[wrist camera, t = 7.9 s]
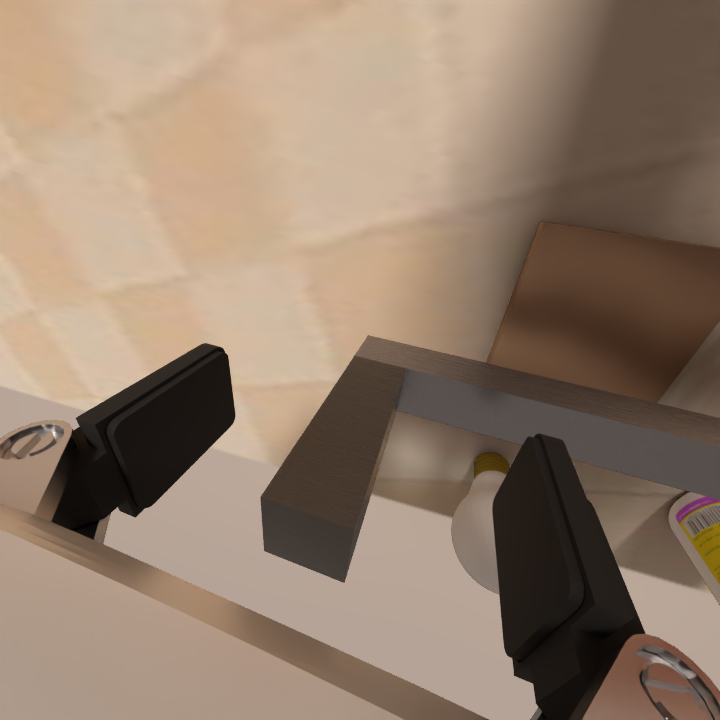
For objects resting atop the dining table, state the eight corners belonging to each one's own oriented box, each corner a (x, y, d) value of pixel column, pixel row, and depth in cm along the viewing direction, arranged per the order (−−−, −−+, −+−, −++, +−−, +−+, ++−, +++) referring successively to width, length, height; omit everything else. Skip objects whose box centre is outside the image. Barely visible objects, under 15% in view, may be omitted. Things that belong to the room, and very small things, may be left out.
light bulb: (503, 419, 24) (527, 544, 15) (545, 470, 25) (589, 614, 16) (439, 446, 27) (429, 564, 18) (479, 491, 28) (487, 622, 19)
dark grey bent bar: (368, 335, 13) (260, 497, 6) (818, 441, 10) (1611, 986, 3) (362, 373, 14) (264, 550, 7) (772, 480, 11) (1299, 963, 4)
